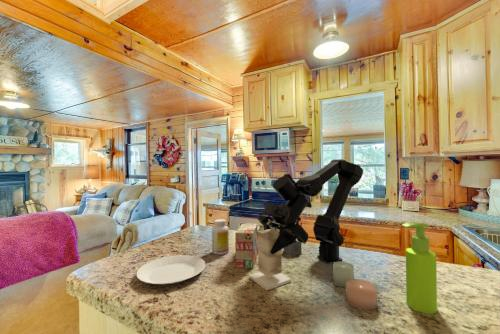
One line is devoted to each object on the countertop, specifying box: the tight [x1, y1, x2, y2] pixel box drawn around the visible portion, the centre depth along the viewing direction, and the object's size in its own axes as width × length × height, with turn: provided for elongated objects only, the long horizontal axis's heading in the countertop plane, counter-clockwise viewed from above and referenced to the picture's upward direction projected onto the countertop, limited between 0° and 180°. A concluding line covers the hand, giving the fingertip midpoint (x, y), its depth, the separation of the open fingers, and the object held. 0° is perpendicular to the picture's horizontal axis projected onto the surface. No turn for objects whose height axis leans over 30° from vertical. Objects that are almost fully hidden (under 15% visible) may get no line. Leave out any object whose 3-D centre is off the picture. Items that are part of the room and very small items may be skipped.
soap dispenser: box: [401, 221, 438, 315], centre depth 55 cm, size 6×7×20 cm
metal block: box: [257, 229, 283, 277], centre depth 69 cm, size 5×5×12 cm
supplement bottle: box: [211, 218, 230, 256], centre depth 92 cm, size 7×7×13 cm
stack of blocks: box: [234, 223, 261, 269], centre depth 87 cm, size 21×6×12 cm, turn 171°
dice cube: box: [283, 239, 302, 256], centre depth 91 cm, size 5×5×5 cm
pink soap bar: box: [345, 278, 378, 311], centre depth 57 cm, size 7×7×4 cm
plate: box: [136, 254, 206, 286], centre depth 74 cm, size 21×21×2 cm
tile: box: [248, 271, 292, 291], centre depth 69 cm, size 9×9×1 cm
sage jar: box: [332, 261, 355, 288], centre depth 67 cm, size 6×6×5 cm
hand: (266, 250), depth 68 cm, fingers closed on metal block, 5 cm apart
